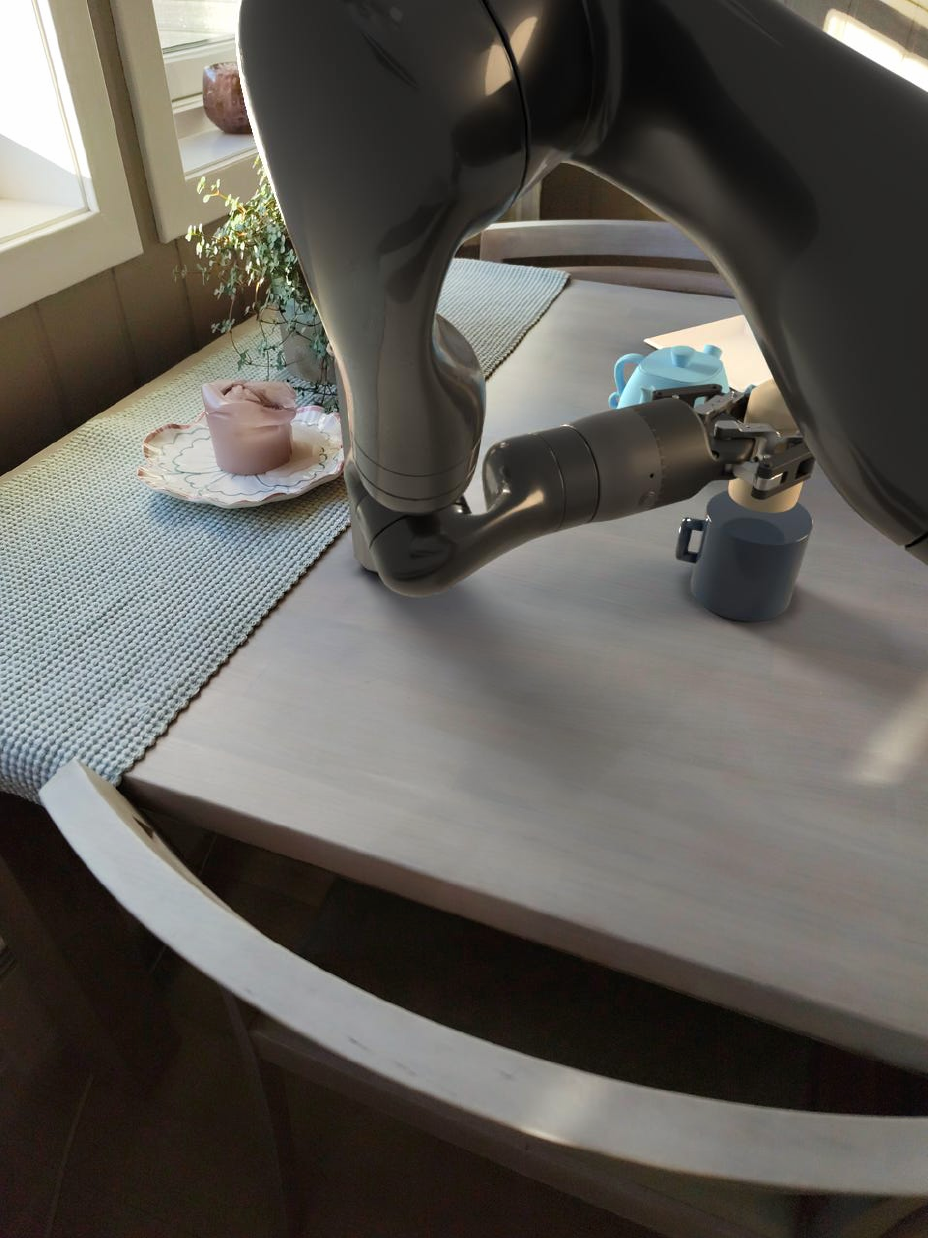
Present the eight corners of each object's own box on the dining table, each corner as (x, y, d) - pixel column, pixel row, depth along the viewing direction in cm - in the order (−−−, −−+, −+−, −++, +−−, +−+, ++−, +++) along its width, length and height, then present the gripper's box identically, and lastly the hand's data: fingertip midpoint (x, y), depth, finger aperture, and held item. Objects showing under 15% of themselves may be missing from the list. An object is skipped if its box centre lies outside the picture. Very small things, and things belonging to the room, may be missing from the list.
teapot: (753, 477, 92) (778, 375, 85) (628, 485, 91) (642, 383, 84) (706, 412, 104) (723, 319, 97) (594, 419, 102) (603, 324, 95)
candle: (724, 475, 73) (751, 362, 67) (791, 481, 72) (824, 367, 66) (730, 510, 69) (759, 392, 62) (802, 516, 68) (838, 398, 62)
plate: (738, 407, 105) (742, 391, 103) (640, 353, 117) (642, 338, 116) (845, 374, 112) (850, 358, 111) (742, 326, 124) (745, 312, 123)
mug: (794, 574, 79) (816, 499, 74) (785, 631, 73) (809, 553, 68) (679, 550, 82) (693, 476, 77) (661, 603, 76) (675, 527, 70)
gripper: (699, 460, 54) (895, 409, 60) (577, 373, 64) (755, 336, 70) (679, 558, 59) (862, 502, 65) (568, 462, 69) (736, 421, 75)
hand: (806, 416), depth 67 cm, fingers closed on candle, 5 cm apart
